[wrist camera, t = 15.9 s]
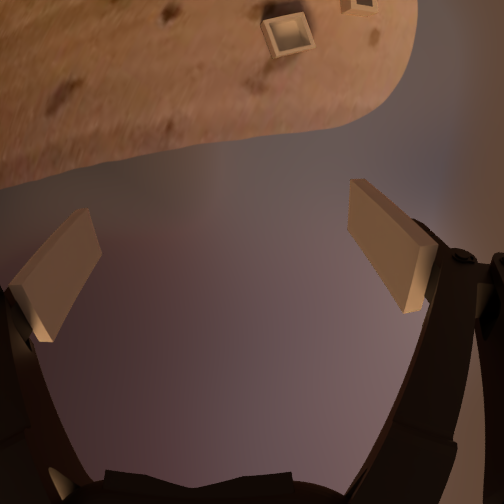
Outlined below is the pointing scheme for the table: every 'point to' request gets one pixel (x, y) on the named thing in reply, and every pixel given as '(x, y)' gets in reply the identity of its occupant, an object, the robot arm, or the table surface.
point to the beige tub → (287, 35)
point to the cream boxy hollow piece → (359, 7)
